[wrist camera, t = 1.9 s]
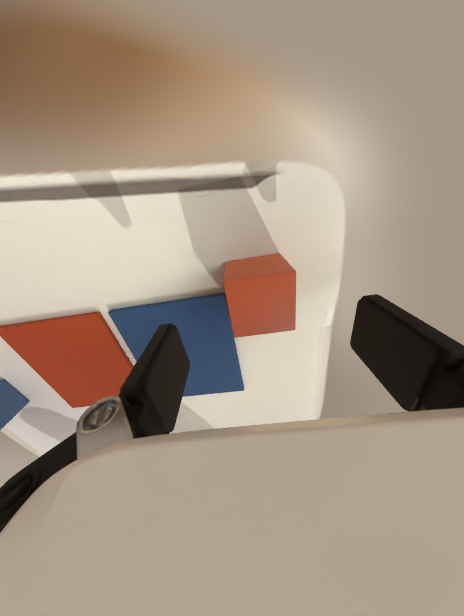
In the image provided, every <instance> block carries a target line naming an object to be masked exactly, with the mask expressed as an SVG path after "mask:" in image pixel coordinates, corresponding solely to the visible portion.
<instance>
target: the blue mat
mask: <svg viewBox="0 0 464 616" xmlns="http://www.w3.org/2000/svg"><path fill="white" fill-rule="evenodd" d="M108 313H109V315H110V317H111V318H112V320H113V322H114V323H115V325H116V327H117V329H118V330H119V332H120V334H121V335H122V337H123V339H124V340H125V342H126V344H127V346H128V347H129V349H130V351H131V352H132V354H133V356H134V357H135V359H136V361H138V359H139V357H140V356H141V354H142V353H143V351H144V349H145V348H146V346H147V345H148V343H149V341H150V340H151V338H152V336H153V335H154V333H155V332H156V330H157V328H158V327H159V325H161V324H167V323H172V324H173V325H176V327H177V329H178V332H179V334H180V337H181V340H182V342H183V345H184V348H185V350H186V353H187V356H188V358H189V361H190V370H189V374H188V377H187V381H186V385H185V389H184V393H183V396H182V397H184V396H194V395H204V394H214V393H224V392H234V391H243V390H244V385H243V381H242V376H241V371H240V366H239V361H238V356H237V351H236V346H235V341H234V336H233V331H232V326H231V321H230V316H229V311H228V306H227V301H226V296H225V293H222V294H215V295H209V296H202V297H195V298H188V299H181V300H175V301H168V302H161V303H154V304H147V305H141V306H134V307H127V308H120V309H114V310H110V311H109V312H108Z"/></svg>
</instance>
